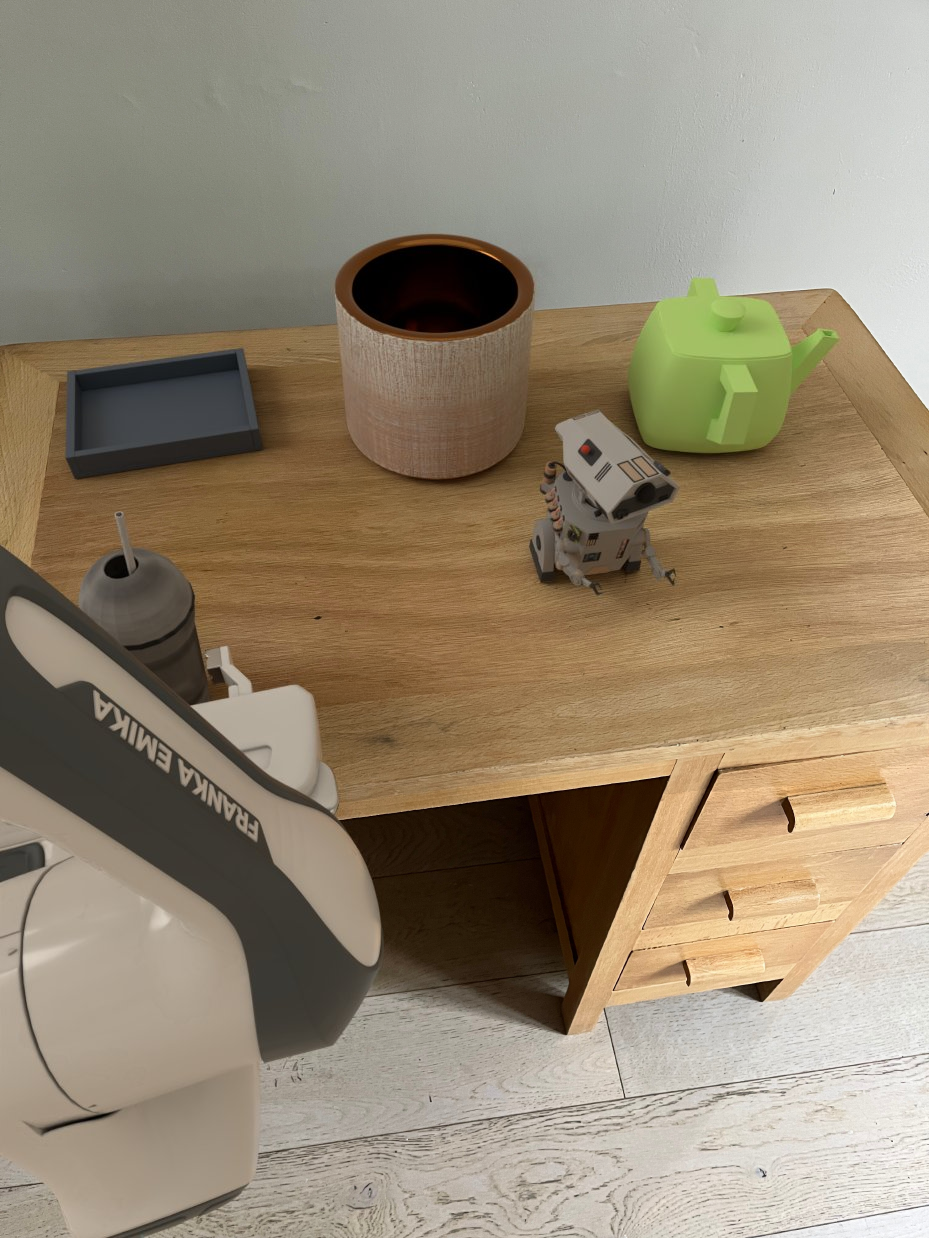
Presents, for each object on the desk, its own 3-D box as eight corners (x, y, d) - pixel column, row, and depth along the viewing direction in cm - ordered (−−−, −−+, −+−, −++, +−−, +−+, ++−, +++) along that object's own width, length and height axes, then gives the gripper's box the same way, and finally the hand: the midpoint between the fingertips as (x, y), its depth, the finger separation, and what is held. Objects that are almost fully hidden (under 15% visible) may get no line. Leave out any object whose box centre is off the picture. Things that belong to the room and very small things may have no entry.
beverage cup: (144, 661, 68) (56, 468, 52) (236, 665, 68) (176, 473, 52) (118, 741, 63) (13, 556, 47) (217, 745, 63) (144, 562, 47)
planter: (369, 502, 79) (356, 356, 67) (332, 388, 90) (314, 244, 78) (548, 468, 83) (567, 323, 71) (492, 363, 93) (500, 221, 81)
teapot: (778, 363, 94) (819, 250, 84) (832, 488, 82) (888, 372, 72) (612, 363, 94) (633, 249, 84) (641, 488, 81) (670, 372, 71)
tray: (74, 479, 80) (65, 458, 78) (75, 392, 89) (66, 371, 87) (263, 449, 84) (259, 428, 82) (247, 368, 92) (243, 347, 90)
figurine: (555, 638, 70) (579, 504, 58) (524, 537, 77) (540, 400, 65) (662, 624, 71) (706, 490, 59) (622, 526, 78) (654, 389, 66)
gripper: (340, 800, 45) (301, 604, 53) (-79, 898, 41) (-52, 671, 50) (350, 850, 50) (312, 663, 58) (-24, 941, 46) (-8, 728, 55)
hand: (142, 667), depth 54 cm, fingers open, 8 cm apart
